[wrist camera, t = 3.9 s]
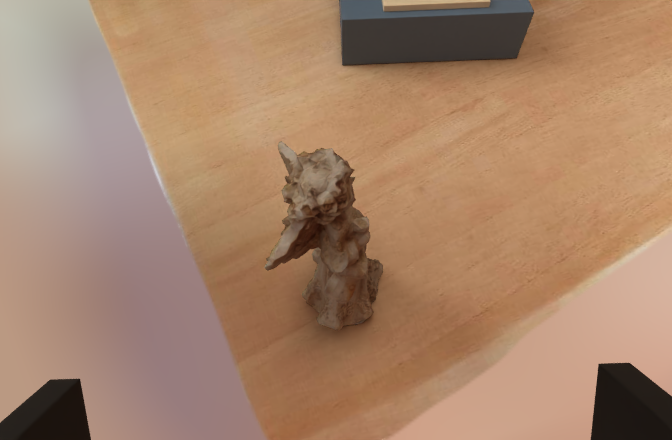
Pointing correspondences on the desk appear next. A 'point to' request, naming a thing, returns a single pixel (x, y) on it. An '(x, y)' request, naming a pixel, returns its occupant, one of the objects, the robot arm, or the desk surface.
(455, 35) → the couch
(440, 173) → the desk surface
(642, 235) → the desk surface
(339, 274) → the figurine
